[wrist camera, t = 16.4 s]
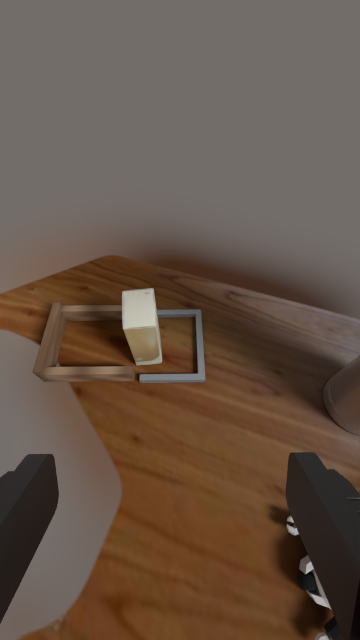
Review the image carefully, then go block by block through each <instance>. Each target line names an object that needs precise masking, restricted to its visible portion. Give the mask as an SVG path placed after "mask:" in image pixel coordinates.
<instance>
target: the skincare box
mask: <svg viewBox="0 0 360 640" xmlns="http://www.w3.org/2000/svg"><path fill="white" fill-rule="evenodd" d="M122 320H123V330H124V333H125V336H126V338H127V341H128V344H129V346H130V349H131V352H132V355H133V357H134V360H135V363H136V365H148V364H158V363H162V351H161V340H160V332H159V325H158V317H157V310H156V302H155V295H154V289H153V288H149V289H137V290H128V291H123V294H122Z"/></svg>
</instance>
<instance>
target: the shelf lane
mask: <svg viewBox="0 0 360 640" xmlns="http://www.w3.org/2000/svg"><path fill="white" fill-rule="evenodd" d="M110 320H122V305H79V306H62V304H61V303H60V302H53V305H52V308H51V311H50V315H49V318H48V322H47V325H46V328H45V332H44V335H43V339H42V342H41V345H40V349H39V352H38V356H37V359H36V363H35V366H34V370H33V373H34V374H36V375H37V376H38V377H39V378H40V379H42V380H43V381H44V382H80V381H134V376H135V373H134V371H133V368H132V366H102V367H56V364H57V360H58V356H59V352H60V348H61V344H62V340H63V336H64V332H65V328H66V324H67V321H110Z"/></svg>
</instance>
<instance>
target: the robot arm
mask: <svg viewBox="0 0 360 640" xmlns="http://www.w3.org/2000/svg"><path fill="white" fill-rule="evenodd" d="M323 400H324V404H325V407H326V409H327V411H328V413H329V415H330V416H331V417H332V419H333V420H334V421H335V422H336V423H337V424H338V425H339V426H341V427H342V428H343V429H345V430H347V431H348V432H350V433H353V434H355V435H359V436H360V356H358V357H357V358H356V359H354V360H353V361H352V362H351V363H349V364H348V365H347V366H346V367H344V368H343V369H342V370H340V371H339V372H338V373H337V374H335V375H334V376H333V377H332V378H330V379H329V380H328V381H327V383H326V384H325V387H324V390H323ZM58 497H59V491H58V483H57V475H56V468H55V460H54V456H53V455H52V454H29V455H27V456H26V457H25V458H24V459H23V460H22V462H21V463H20V464H19V465H18V467H17V468H16V469H15V471H11V472H10V471H9V472H7V473H6V474H4V475H3V476H2V477H1V478H0V623H1V621H2V619H3V617H4V615H5V613H6V611H7V609H8V607H9V605H10V603H11V601H12V598H13V597H14V595H15V593H16V591H17V589H18V587H19V585H20V583H21V581H22V578H23V576H24V574H25V572H26V570H27V568H28V566H29V564H30V562H31V560H32V558H33V556H34V554H35V552H36V550H37V548H38V546H39V544H40V542H41V540H42V538H43V536H44V534H45V532H46V529H47V528H48V525H49V523H50V521H51V519H52V517H53V515H54V513H55V511H56V508H57V504H58ZM286 499H287V505H288V508H289V512H290V514H291V516H292V519H293V521H294V523H295V526H296V528H297V530H298V533H299V535H300V537H301V540H302V542H303V544H304V547H305V549H306V551H307V554H308V556H309V558H310V561H311V563H312V565H313V568H314V570H315V572H316V575H317V577H318V579H319V582H320V584H321V586H322V589H323V591H324V593H325V596H326V598H327V600H328V603H329V605H330V607H331V610H332V612H333V614H334V617H335V619H336V621H337V623H338V626H339V628H340V630H341V633H342V635H343V637H344V640H360V495H359V493H358V492H357V491H356V489H355V488H354V487H353V485H352V484H351V483H350V482H349V481H348V480H347V479H346V478H344V477H343V476H342V475H340V474H339V473H338V472H337V471H335V470H334V469H326V467H325V466H324V465H323V463H322V462H321V460H320V459H319V457H318V456H317V455H316V454H315V453H313V452H303V453H290V455H289V460H288V471H287V483H286Z"/></svg>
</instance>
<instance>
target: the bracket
mask: <svg viewBox="0 0 360 640" xmlns="http://www.w3.org/2000/svg"><path fill="white" fill-rule="evenodd" d="M157 317H158V318H169V317H195V318H196V340H197V363H198V374H140V383H166V382H205V367H204V350H203V333H202V316H201V309H187V310H157Z"/></svg>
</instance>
